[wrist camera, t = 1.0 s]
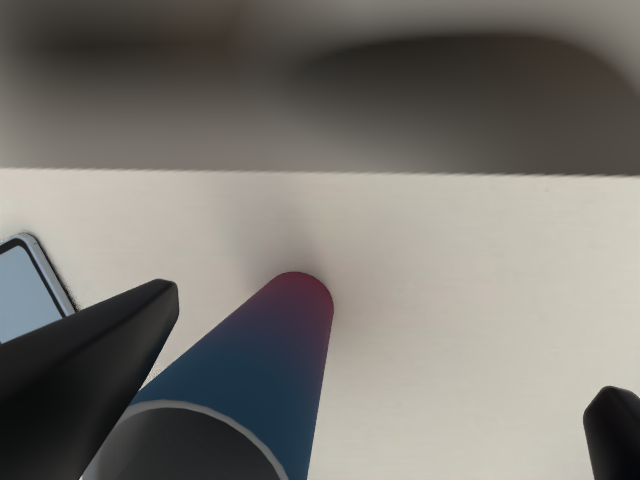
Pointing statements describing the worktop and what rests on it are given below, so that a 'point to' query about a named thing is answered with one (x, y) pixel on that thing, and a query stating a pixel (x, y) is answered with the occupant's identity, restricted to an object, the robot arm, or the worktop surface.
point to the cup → (232, 396)
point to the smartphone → (27, 289)
